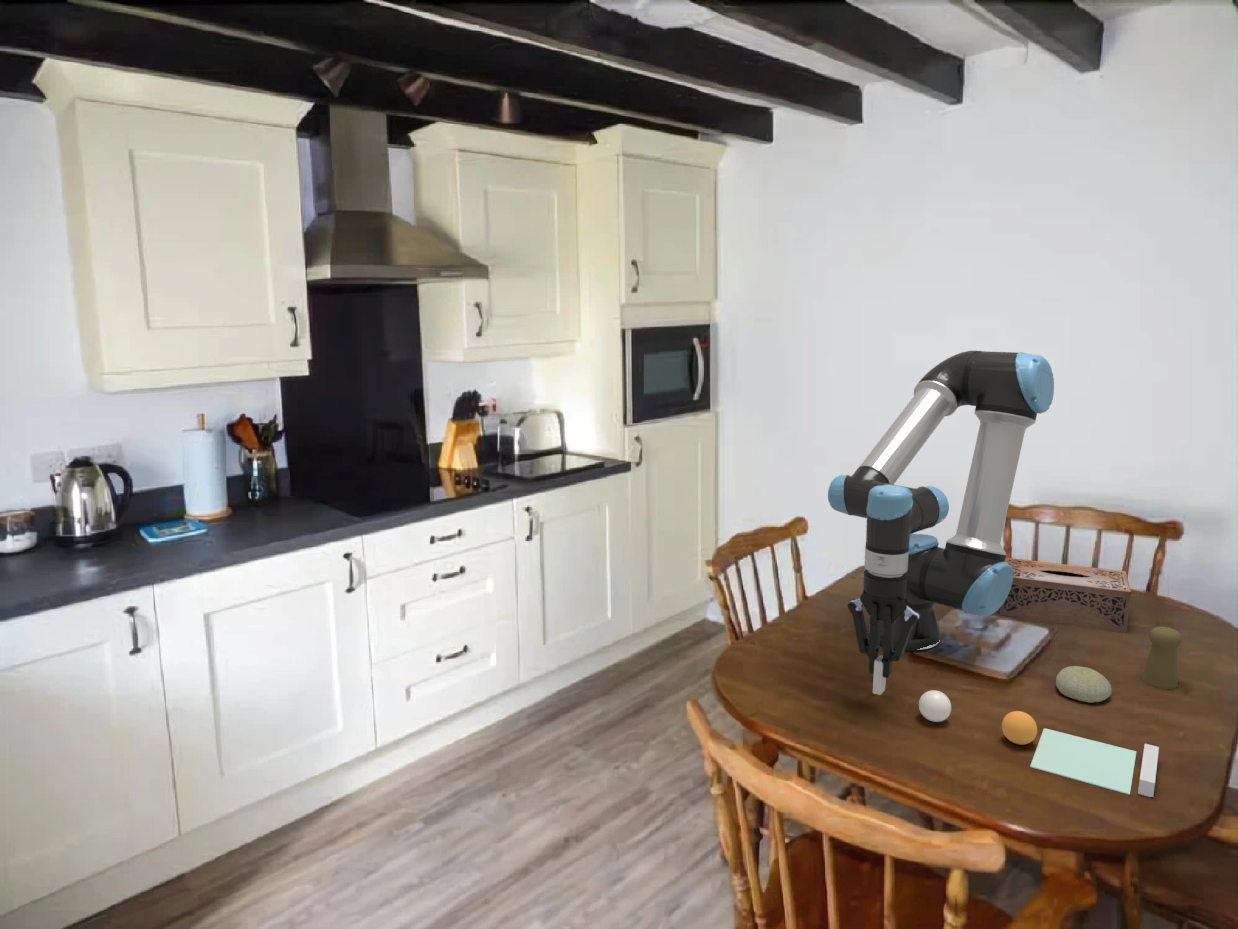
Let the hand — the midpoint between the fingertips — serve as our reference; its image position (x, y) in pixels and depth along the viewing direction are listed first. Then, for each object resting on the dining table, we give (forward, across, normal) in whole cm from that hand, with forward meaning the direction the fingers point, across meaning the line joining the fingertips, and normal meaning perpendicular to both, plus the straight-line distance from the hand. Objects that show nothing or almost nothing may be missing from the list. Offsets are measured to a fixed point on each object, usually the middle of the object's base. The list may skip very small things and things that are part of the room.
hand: (878, 691), depth 157 cm
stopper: (+3, +43, 0) cm, 43 cm away
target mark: (+3, +34, 0) cm, 34 cm away
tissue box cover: (+3, +22, +66) cm, 70 cm away
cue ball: (0, +10, 0) cm, 10 cm away
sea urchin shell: (+3, +31, +25) cm, 40 cm away
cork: (+3, +43, +38) cm, 58 cm away
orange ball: (0, +24, 0) cm, 24 cm away
